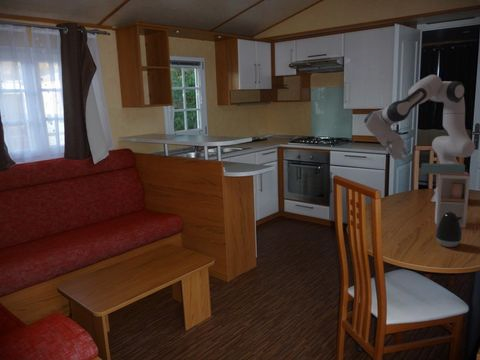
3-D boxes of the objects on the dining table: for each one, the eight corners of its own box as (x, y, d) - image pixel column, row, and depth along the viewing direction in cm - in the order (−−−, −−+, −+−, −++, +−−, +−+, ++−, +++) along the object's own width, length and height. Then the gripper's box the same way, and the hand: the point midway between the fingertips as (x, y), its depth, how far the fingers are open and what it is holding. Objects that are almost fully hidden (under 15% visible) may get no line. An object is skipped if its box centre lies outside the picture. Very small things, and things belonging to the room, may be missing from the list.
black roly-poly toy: (451, 251, 175) (453, 217, 172) (430, 243, 184) (432, 211, 181) (466, 246, 179) (469, 213, 176) (445, 239, 188) (447, 207, 185)
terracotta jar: (449, 197, 207) (451, 182, 206) (461, 198, 206) (462, 182, 204) (451, 200, 203) (452, 184, 201) (462, 201, 201) (463, 185, 199)
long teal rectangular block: (421, 171, 209) (421, 163, 208) (463, 173, 203) (463, 164, 202) (421, 173, 206) (422, 164, 205) (464, 174, 199) (465, 165, 198)
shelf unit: (434, 220, 214) (438, 169, 209) (462, 222, 210) (467, 170, 204) (436, 225, 206) (439, 173, 200) (465, 227, 202) (470, 173, 196)
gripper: (390, 142, 204) (409, 162, 204) (395, 128, 220) (413, 147, 221) (380, 149, 208) (399, 169, 208) (386, 135, 224) (403, 154, 224)
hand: (406, 158), depth 215 cm, fingers open, 8 cm apart
